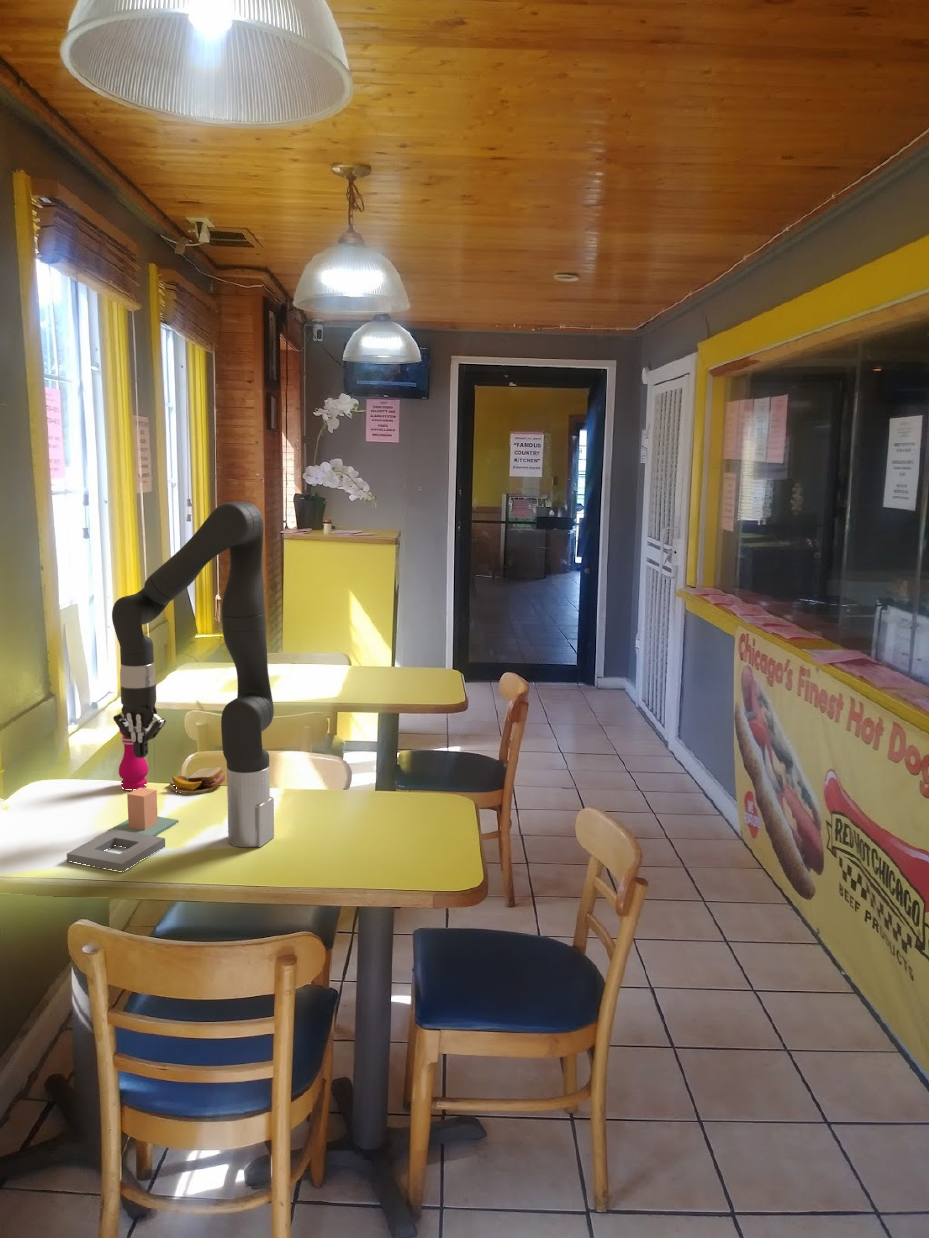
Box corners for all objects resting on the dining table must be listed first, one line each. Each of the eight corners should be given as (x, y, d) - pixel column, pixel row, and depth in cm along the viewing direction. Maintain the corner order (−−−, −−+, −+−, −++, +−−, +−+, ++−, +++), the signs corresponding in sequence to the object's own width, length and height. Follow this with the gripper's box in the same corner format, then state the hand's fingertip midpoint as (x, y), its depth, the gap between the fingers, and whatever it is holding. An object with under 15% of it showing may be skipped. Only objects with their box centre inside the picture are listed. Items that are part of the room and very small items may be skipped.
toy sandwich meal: (187, 777, 245) (186, 760, 244) (232, 782, 241) (232, 765, 241) (159, 792, 233) (159, 774, 232) (206, 799, 230) (206, 781, 229)
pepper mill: (142, 792, 232) (140, 716, 229) (114, 791, 232) (111, 715, 229) (153, 782, 239) (150, 708, 236) (125, 781, 240) (122, 707, 236)
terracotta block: (157, 822, 212) (156, 790, 210) (145, 830, 208) (143, 796, 206) (141, 820, 213) (140, 787, 212) (128, 827, 209) (127, 793, 208)
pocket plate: (165, 846, 200) (165, 838, 200) (122, 873, 187) (122, 863, 187) (112, 837, 205) (111, 828, 204) (67, 862, 192) (66, 853, 191)
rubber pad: (178, 822, 214) (178, 819, 214) (148, 840, 204) (148, 837, 203) (139, 815, 217) (139, 813, 217) (107, 832, 207) (107, 830, 207)
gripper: (173, 681, 206) (175, 755, 209) (124, 676, 210) (127, 748, 213) (152, 689, 199) (155, 765, 202) (102, 683, 203) (105, 758, 206)
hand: (140, 756), depth 208 cm, fingers closed
